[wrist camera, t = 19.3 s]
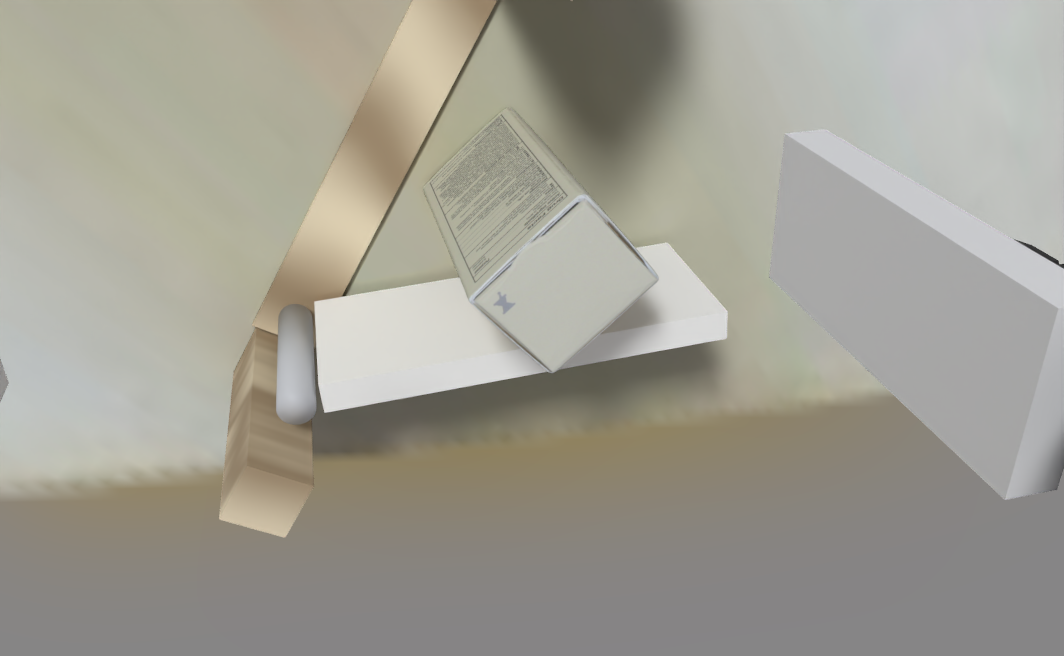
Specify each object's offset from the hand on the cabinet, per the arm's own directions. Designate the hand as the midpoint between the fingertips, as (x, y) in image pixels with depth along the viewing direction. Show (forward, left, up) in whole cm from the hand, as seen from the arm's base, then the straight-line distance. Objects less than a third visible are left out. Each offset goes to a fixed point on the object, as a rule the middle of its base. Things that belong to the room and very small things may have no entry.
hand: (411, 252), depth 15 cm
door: (+10, -8, -22) cm, 26 cm away
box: (+9, -3, -23) cm, 25 cm away
